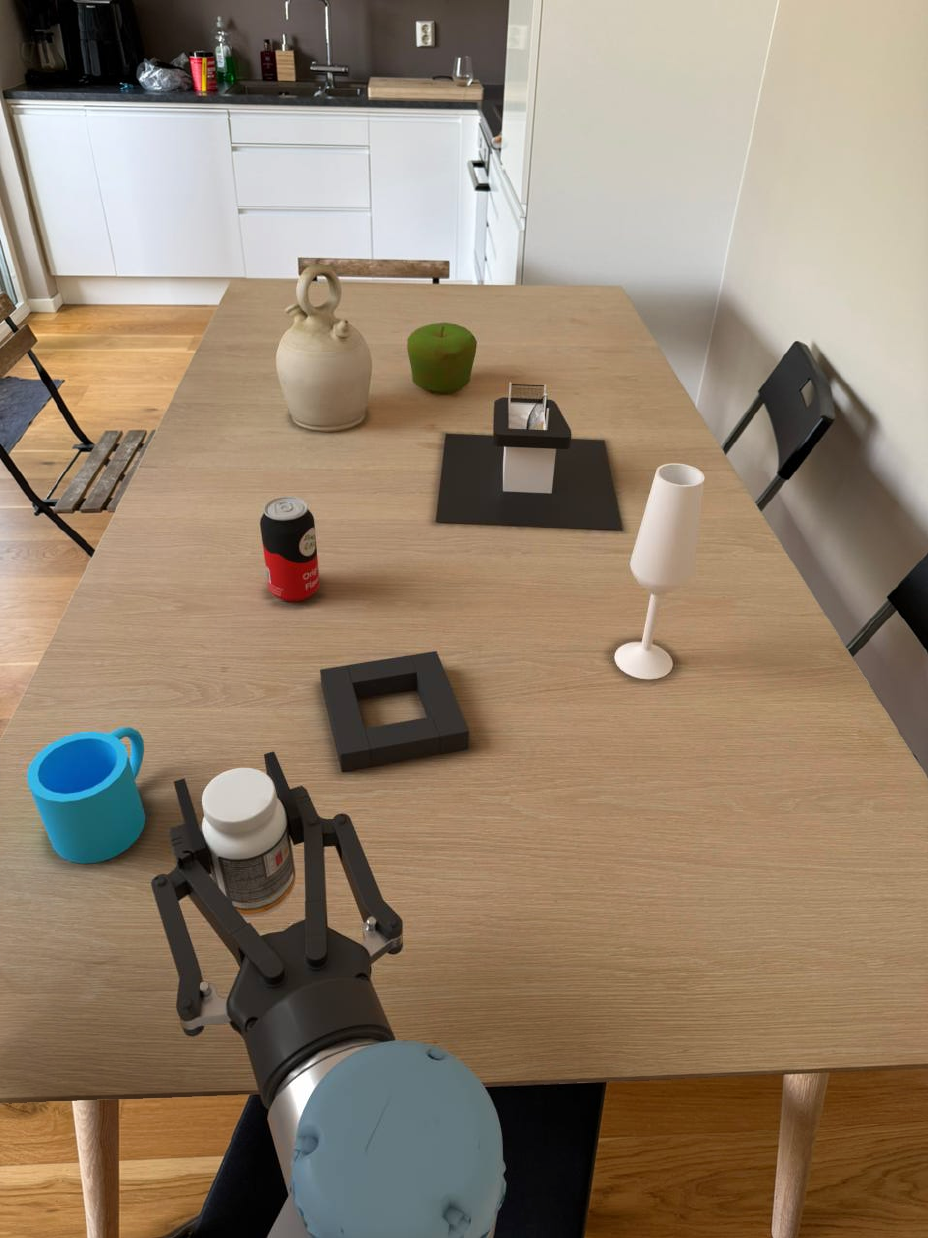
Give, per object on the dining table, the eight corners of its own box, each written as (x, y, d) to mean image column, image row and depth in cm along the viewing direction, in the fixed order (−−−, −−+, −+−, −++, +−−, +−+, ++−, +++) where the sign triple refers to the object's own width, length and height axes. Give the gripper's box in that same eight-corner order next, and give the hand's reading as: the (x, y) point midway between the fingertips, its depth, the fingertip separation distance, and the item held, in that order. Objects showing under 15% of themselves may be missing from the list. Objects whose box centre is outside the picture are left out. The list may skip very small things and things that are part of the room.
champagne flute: (610, 672, 101) (642, 485, 86) (618, 637, 106) (649, 454, 91) (670, 684, 99) (713, 496, 85) (675, 648, 104) (716, 464, 90)
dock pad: (341, 772, 87) (340, 754, 86) (321, 686, 97) (319, 669, 96) (468, 748, 91) (469, 731, 89) (436, 667, 100) (436, 650, 99)
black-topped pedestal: (622, 530, 125) (636, 443, 117) (435, 522, 125) (436, 435, 117) (604, 440, 147) (614, 362, 139) (445, 434, 147) (447, 355, 139)
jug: (270, 407, 154) (253, 256, 138) (354, 392, 159) (347, 246, 144) (298, 444, 143) (284, 285, 128) (387, 427, 149) (383, 273, 133)
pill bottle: (311, 871, 65) (301, 778, 59) (266, 934, 61) (250, 841, 55) (246, 843, 66) (229, 750, 60) (198, 902, 62) (175, 809, 56)
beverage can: (275, 610, 108) (264, 525, 101) (264, 581, 113) (253, 499, 105) (325, 599, 110) (318, 516, 103) (313, 572, 114) (305, 490, 107)
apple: (419, 370, 168) (419, 310, 161) (482, 378, 166) (484, 318, 159) (398, 396, 159) (397, 333, 152) (464, 405, 156) (466, 342, 149)
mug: (111, 874, 77) (89, 812, 72) (31, 850, 79) (5, 788, 74) (184, 776, 86) (170, 715, 82) (111, 756, 88) (93, 695, 83)
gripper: (166, 1191, 46) (101, 856, 62) (487, 1043, 53) (352, 775, 69) (139, 1127, 42) (76, 783, 58) (493, 973, 48) (348, 704, 65)
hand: (227, 779), depth 64 cm, fingers closed on pill bottle, 6 cm apart
